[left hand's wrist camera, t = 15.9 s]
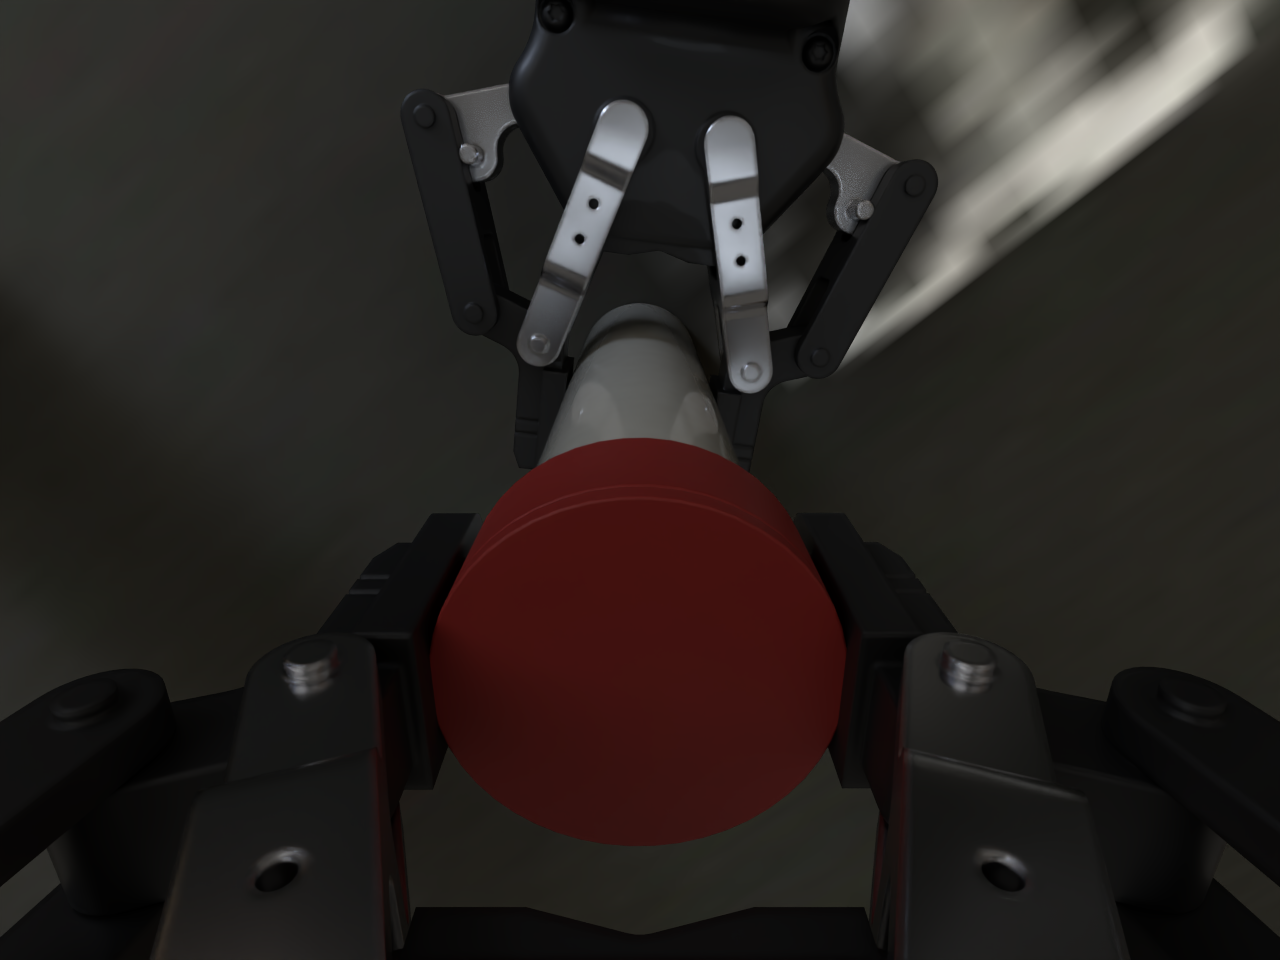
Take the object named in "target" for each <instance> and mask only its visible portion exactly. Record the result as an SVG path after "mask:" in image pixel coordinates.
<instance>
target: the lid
mask: <svg viewBox="0 0 1280 960" xmlns="http://www.w3.org/2000/svg"><path fill="white" fill-rule="evenodd" d="M846 650H847V648H846V641H845V636H844V632H843V627H842V625H841V622H840V620H839V617H838V615H837V612H836V609H835V607H834V604H833V602H832V600H831V598H830V596H829V594H828V592H827V590H826V588H825V586H824V584H823V582H822V580H821V578H820V576H819V573H818V571H817V569H816V567H815V565H814V563H813V561H812V559H811V557H810V555H809V553H808V551H807V549H806V547H805V544H804V542H803V540H802V538H801V536H800V534H799V532H798V530H797V528H796V526H795V525H794V523H793V521H792V520H791V518H790V516H789V514H788V513H787V511H786V510H785V508H784V507H783V506H782V505H781V503H780V502H779V501H778V500H777V498H776V497H775V496H774V494H773V493H771V492H770V491H769V490H768V489H767V488H766V487H765V486H764V485H763V484H762V483H761V482H760V481H759V480H758V479H757V478H755V477H754V476H753V475H751V474H750V473H748V472H747V471H746V470H744V469H743V468H741V467H740V466H739V465H737V464H735V463H733V462H731V461H729V460H727V459H726V458H724V457H722V456H720V455H718V454H716V453H713V452H710V451H708V450H705V449H702V448H700V447H697V446H694V445H690V444H685V443H681V442H677V441H673V440H665V439H655V438H620V439H613V440H606V441H599V442H595V443H592V444H588V445H584V446H581V447H577V448H574V449H572V450H569V451H567V452H565V453H562V454H560V455H557V456H555V457H553V458H551V459H549V460H548V461H546V462H544V463H543V464H541V465H539V466H537V467H536V468H534V469H532V470H531V471H530V472H529V473H527V474H526V475H525V476H524V477H522V478H521V479H520V480H518V481H517V482H516V483H515V484H514V485H513V486H512V487H511V488H510V489H509V490H508V491H507V492H506V493H505V494H504V495H503V496H502V497H501V498H500V499H499V501H498V502H497V503H496V505H495V506H494V508H493V509H492V510H491V512H490V513H489V514H488V516H487V518H486V520H485V521H484V523H483V525H482V527H481V529H480V531H479V533H478V535H477V537H476V539H475V541H474V543H473V545H472V547H471V549H470V551H469V553H468V555H467V557H466V559H465V561H464V564H463V566H462V568H461V570H460V572H459V574H458V576H457V578H456V580H455V582H454V584H453V586H452V588H451V590H450V592H449V594H448V597H447V598H446V600H445V602H444V605H443V607H442V609H441V611H440V613H439V616H438V619H437V622H436V625H435V628H434V631H433V634H432V640H431V645H430V654H429V657H430V667H431V675H432V683H433V691H434V699H435V707H436V714H437V720H438V725H439V728H440V730H441V732H442V734H443V736H444V738H445V740H446V742H447V744H448V746H449V748H450V749H451V751H452V752H453V754H454V755H455V757H456V758H457V760H458V761H459V763H460V764H461V766H462V767H463V768H464V769H465V770H466V771H467V773H468V774H469V775H470V776H471V777H472V778H473V779H474V781H475V782H476V783H477V784H478V785H479V786H481V787H482V788H483V789H484V790H485V791H486V792H487V793H488V794H490V795H491V796H492V797H493V798H494V799H496V800H497V801H498V802H500V803H501V804H503V805H504V806H506V807H507V808H509V809H510V810H511V811H513V812H514V813H516V814H518V815H520V816H522V817H524V818H526V819H527V820H529V821H531V822H533V823H535V824H537V825H540V826H542V827H545V828H547V829H550V830H552V831H554V832H557V833H560V834H564V835H567V836H571V837H574V838H577V839H581V840H586V841H592V842H597V843H603V844H611V845H623V846H656V845H665V844H674V843H681V842H686V841H690V840H695V839H700V838H704V837H707V836H710V835H713V834H716V833H719V832H722V831H725V830H728V829H730V828H732V827H735V826H737V825H739V824H741V823H744V822H746V821H748V820H750V819H752V818H753V817H755V816H757V815H759V814H760V813H762V812H764V811H765V810H767V809H769V808H770V807H772V806H773V805H774V804H776V803H777V802H778V801H780V800H781V799H782V798H784V797H785V796H786V795H788V794H789V793H790V792H791V791H792V790H793V789H794V788H795V787H796V786H797V785H798V784H799V783H800V782H801V781H803V780H804V779H805V777H806V776H807V775H808V774H809V773H810V771H811V770H812V769H813V768H814V766H815V765H816V764H817V763H818V762H819V760H820V759H821V757H822V755H823V754H824V752H825V750H826V749H827V747H828V746H829V744H830V742H831V741H832V738H833V736H834V734H835V731H836V729H837V724H838V717H839V709H840V701H841V693H842V685H843V677H844V669H845V661H846Z"/></svg>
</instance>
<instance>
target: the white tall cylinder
mask: <svg viewBox="0 0 1280 960" xmlns="http://www.w3.org/2000/svg"><path fill="white" fill-rule="evenodd" d="M620 438H655V439H665V440H673V441H677V442H681V443H685V444H690V445H694V446H697V447H700V448H702V449H705V450H708V451H710V452H713V453H716V454H718V455H720V456H722V457H724V458H726V459H727V460H729V461H731V462H733V463H735V464H737V465H739V466H740V463H739V460H738V458H737V455H736V453H735V450H734V447H733V445H732V442H731V440H730V437H729V434H728V432H727V429H726V427H725V424H724V421H723V419H722V416H721V414H720V411H719V408H718V406H717V403H716V401H715V398H714V395H713V393H712V390H711V388H710V385H709V382H708V380H707V377H706V375H705V372H704V369H703V367H702V364H701V362H700V359H699V356H698V354H697V351H696V349H695V346H694V343H693V341H692V338H691V336H690V334H689V332H688V330H687V329H686V327H685V326H684V325H683V323H682V322H681V321H680V320H679V319H678V318H677V317H676V316H674V315H673V314H672V313H670V312H669V311H667V310H665V309H663V308H661V307H658V306H655V305H651V304H644V303H633V304H627V305H623V306H620V307H618V308H615V309H613V310H611V311H610V312H608V313H607V314H605V315H604V316H603V317H602V318H600V319H599V320H598V322H597V323H596V324H595V325H594V326H593V328H592V329H591V331H590V333H589V335H588V337H587V339H586V342H585V344H584V347H583V349H582V352H581V354H580V357H579V360H578V362H577V365H576V367H575V370H574V372H573V375H572V377H571V380H570V383H569V385H568V388H567V390H566V393H565V395H564V398H563V401H562V403H561V406H560V408H559V411H558V413H557V416H556V419H555V421H554V424H553V426H552V429H551V431H550V434H549V436H548V439H547V442H546V444H545V447H544V449H543V452H542V454H541V457H540V460H539V462H538V465H537V466H539V465H541V464H543V463H544V462H546V461H548V460H549V459H551V458H553V457H555V456H557V455H560V454H562V453H565V452H567V451H569V450H572V449H574V448H577V447H581V446H584V445H588V444H592V443H595V442H599V441H606V440H613V439H620ZM740 467H741V466H740Z"/></svg>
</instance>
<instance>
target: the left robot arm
mask: <svg viewBox="0 0 1280 960" xmlns="http://www.w3.org/2000/svg"><path fill="white" fill-rule="evenodd" d="M482 525H483V524H482V519H481V517H480V515H479V514H478V513H433V514H431V515H430V516H429V518H428V519H427V521H426V522H425V524H424V525H423V527H422V528H421V530H420V531H419V533H418V534H417V536H416V537H415V539H414V540H413V542H412V543H397V544H395V545H394V546H392V547H390V548H389V549H387V550H386V551H384V552H382V553H381V554H379V555H377V556H376V557H374V558H373V559H372V561H371V562H370V563H369V565H368V566H367V567H366V569H365V570H364V571H363V573H362V574H361V575H360V579H357V581H356V582H355V583H354V585H353V586H352V587H351V589H350V590H349V594H346V595H345V597H344V598H343V599H342V601H341V602H340V603H339V605H338V606H337V607H336V609H335V610H334V611H333V613H332V614H331V615H330V617H329V618H328V619H327V621H326V622H325V623H324V625H323V626H322V627H321V629H320V630H319V631H318V633H317V634H314V635H310V636H305V637H302V638H299V639H295V640H293V641H290V642H288V643H285V644H283V645H281V646H279V647H277V648H275V649H273V650H272V651H270V652H268V653H267V654H265V655H264V656H263V657H262V658H260V659H259V660H258V661H257V662H256V663H255V664H254V665H253V666H252V668H251V669H250V671H249V672H248V674H247V677H246V680H245V685H244V687H242V688H239V689H235V690H231V691H226V692H222V693H217V694H212V695H207V696H201V697H196V698H191V699H186V700H181V701H176V702H171V703H170V700H169V697H168V693H167V690H166V686H165V683H164V681H163V679H162V678H161V677H160V676H159V675H158V674H156V673H154V672H151V671H147V670H142V669H120V670H112V671H106V672H101V673H97V674H93V675H90V676H86V677H83V678H80V679H77V680H74V681H72V682H69V683H67V684H64V685H62V686H60V687H58V688H56V689H53V690H51V691H49V692H47V693H46V694H44V695H42V696H41V697H39V698H37V699H36V700H34V701H32V702H31V703H29V704H28V705H26V706H25V707H23V708H21V709H20V710H18V711H17V712H15V713H14V714H12V715H10V716H9V717H7V718H6V719H4V720H2V721H1V722H0V887H1V886H2V885H3V884H4V883H5V882H7V881H8V880H9V879H10V878H11V877H13V876H14V875H15V874H16V873H17V872H19V871H20V870H21V869H22V868H23V867H25V866H26V865H27V864H28V863H29V862H31V861H32V860H33V859H34V858H35V857H36V856H38V855H39V854H40V853H41V852H42V851H44V850H45V849H46V848H47V850H48V853H49V855H50V858H51V860H52V863H53V865H54V868H55V870H56V873H57V875H58V878H59V880H60V884H59V885H58V886H57V887H56V888H55V889H54V890H52V891H51V892H50V893H49V894H48V895H47V896H46V897H45V898H44V899H42V900H41V901H40V902H39V903H38V904H37V905H36V906H35V907H34V908H32V909H31V910H30V911H29V912H28V913H27V914H26V915H25V916H24V917H22V918H21V919H20V920H19V921H18V922H17V923H16V924H15V925H14V926H12V927H11V928H10V929H9V930H8V931H7V932H6V933H5V934H4V935H2V936H1V937H0V960H1280V937H1279V936H1278V935H1276V934H1275V933H1274V932H1273V931H1272V930H1271V929H1270V928H1269V927H1268V926H1266V925H1265V924H1264V923H1263V922H1262V921H1261V920H1260V919H1259V918H1258V917H1256V916H1255V915H1254V914H1253V913H1252V912H1251V911H1250V910H1249V909H1248V908H1246V907H1245V906H1244V905H1243V904H1242V903H1241V902H1240V901H1239V900H1237V899H1236V898H1235V897H1234V896H1233V895H1232V894H1231V893H1230V892H1229V891H1227V890H1226V889H1225V888H1224V887H1223V886H1222V885H1221V884H1220V883H1219V882H1217V881H1216V880H1215V879H1214V878H1213V877H1214V874H1215V871H1216V869H1217V866H1218V864H1219V861H1220V859H1221V856H1222V854H1223V851H1224V849H1225V846H1226V844H1227V843H1228V844H1229V845H1230V846H1232V847H1233V848H1234V849H1235V850H1236V851H1238V852H1239V853H1240V854H1241V855H1242V856H1243V857H1245V858H1246V859H1247V860H1248V861H1249V862H1251V863H1252V864H1253V865H1254V866H1255V867H1257V868H1258V869H1259V870H1260V871H1261V872H1263V873H1264V874H1265V875H1266V876H1267V877H1269V878H1270V879H1271V880H1272V881H1273V882H1275V883H1276V884H1277V885H1278V886H1279V887H1280V722H1279V721H1277V720H1276V719H1274V718H1273V717H1271V716H1270V715H1268V714H1266V713H1265V712H1263V711H1262V710H1260V709H1259V708H1257V707H1255V706H1254V705H1252V704H1251V703H1249V702H1248V701H1246V700H1244V699H1243V698H1241V697H1240V696H1238V695H1236V694H1235V693H1233V692H1231V691H1229V690H1228V689H1225V688H1223V687H1221V686H1219V685H1217V684H1215V683H1213V682H1210V681H1208V680H1205V679H1203V678H1200V677H1197V676H1194V675H1191V674H1187V673H1184V672H1180V671H1176V670H1171V669H1165V668H1157V667H1135V668H1130V669H1126V670H1123V671H1121V672H1119V673H1118V674H1117V675H1116V676H1115V677H1114V679H1113V681H1112V685H1111V688H1110V692H1109V695H1108V699H1107V702H1104V701H1099V700H1094V699H1089V698H1084V697H1079V696H1074V695H1068V694H1063V693H1058V692H1053V691H1048V690H1044V689H1040V688H1036V685H1035V680H1034V677H1033V674H1032V672H1031V671H1030V669H1029V668H1028V666H1027V665H1026V664H1025V663H1024V662H1023V661H1022V660H1021V659H1020V658H1018V657H1017V656H1016V655H1015V654H1013V653H1012V652H1010V651H1008V650H1007V649H1005V648H1003V647H1001V646H999V645H997V644H995V643H992V642H990V641H987V640H985V639H981V638H978V637H975V636H970V635H966V634H959V633H958V632H957V631H956V630H955V628H954V627H953V625H952V624H951V623H950V621H949V620H948V619H947V617H946V616H945V615H944V613H943V612H942V611H941V609H940V608H939V607H938V605H937V604H936V602H935V601H934V600H933V598H932V597H931V596H930V594H929V593H926V589H925V588H924V586H923V585H922V583H921V582H920V581H919V579H918V578H915V574H914V573H913V571H912V570H911V569H910V567H909V566H908V565H907V563H906V562H905V560H904V559H903V558H902V557H901V556H899V555H898V554H896V553H894V552H893V551H891V550H890V549H888V548H886V547H885V546H883V545H882V544H880V543H878V542H863V540H862V539H861V537H860V536H859V534H858V533H857V531H856V530H855V528H854V527H853V525H852V524H851V522H850V521H849V519H848V518H847V516H846V515H845V514H844V513H797V514H796V516H795V519H794V525H795V526H796V528H797V530H798V532H799V534H800V536H801V538H802V540H803V542H804V544H805V547H806V549H807V551H808V553H809V555H810V557H811V559H812V561H813V563H814V565H815V567H816V569H817V571H818V573H819V576H820V578H821V580H822V582H823V584H824V586H825V588H826V590H827V592H828V594H829V596H830V598H831V600H832V602H833V604H834V607H835V609H836V612H837V615H838V617H839V620H840V622H841V625H842V627H843V632H844V636H845V641H846V648H847V650H846V661H845V669H844V677H843V685H842V693H841V701H840V709H839V717H838V724H837V729H836V731H835V734H834V736H833V738H832V741H831V742H830V744H829V746H828V749H829V752H830V754H831V757H832V760H833V763H834V766H835V769H836V772H837V775H838V778H839V781H840V783H841V786H842V788H871V790H872V793H873V795H874V798H875V800H876V803H877V805H878V808H879V817H878V823H877V830H876V842H875V853H874V865H873V877H872V888H871V900H870V912H869V921H868V918H867V915H866V912H865V909H864V907H753V908H749V909H745V910H741V911H738V912H734V913H730V914H726V915H722V916H718V917H714V918H710V919H706V920H702V921H699V922H695V923H691V924H687V925H683V926H679V927H675V928H671V929H667V930H664V931H660V932H656V933H652V934H646V935H634V934H628V933H624V932H620V931H616V930H613V929H609V928H605V927H601V926H597V925H593V924H589V923H585V922H581V921H578V920H574V919H570V918H566V917H562V916H558V915H554V914H550V913H546V912H542V911H539V910H535V909H531V908H527V907H416V909H415V912H414V915H413V918H412V921H411V912H410V900H409V888H408V877H407V865H406V853H405V842H404V830H403V823H402V817H401V810H400V804H399V800H400V798H401V795H402V793H403V790H433V787H434V785H435V782H436V779H437V776H438V773H439V770H440V768H441V765H442V762H443V759H444V756H445V753H446V751H447V748H448V744H447V742H446V740H445V738H444V736H443V734H442V732H441V730H440V728H439V725H438V720H437V714H436V707H435V699H434V691H433V683H432V675H431V667H430V657H429V654H430V645H431V640H432V634H433V631H434V628H435V625H436V622H437V619H438V616H439V613H440V611H441V609H442V607H443V605H444V602H445V600H446V598H447V597H448V594H449V592H450V590H451V588H452V586H453V584H454V582H455V580H456V578H457V576H458V574H459V572H460V570H461V568H462V566H463V564H464V561H465V559H466V557H467V555H468V553H469V551H470V549H471V547H472V545H473V543H474V541H475V539H476V537H477V535H478V533H479V531H480V529H481V527H482Z"/></svg>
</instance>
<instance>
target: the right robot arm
mask: <svg viewBox="0 0 1280 960" xmlns="http://www.w3.org/2000/svg"><path fill="white" fill-rule="evenodd" d="M849 2H850V0H536V7H535V17H534V23H533V28H532V31H531V34H530V37H529V40H528V43H527V45H526V47H525V49H524V51H523V53H522V55H521V56H520V58H519V59H518V61H517V62H516V64H515V66H514V68H513V70H512V73H511V76H510V81H509V83H508V84H503V85H498V86H493V87H488V88H482V89H477V90H472V91H467V92H462V93H456V94H451V95H442V94H439V93H436V92H433V91H431V90H428V89H418V90H415V91H412V92H411V93H409V94H408V95H407V96H406V98H405V99H404V101H403V103H402V106H401V121H402V125H403V129H404V133H405V137H406V140H407V144H408V148H409V152H410V156H411V160H412V164H413V167H414V171H415V175H416V179H417V183H418V187H419V191H420V194H421V198H422V202H423V206H424V210H425V214H426V217H427V221H428V225H429V229H430V233H431V237H432V241H433V244H434V248H435V252H436V256H437V260H438V264H439V268H440V271H441V275H442V279H443V283H444V287H445V291H446V294H447V298H448V302H449V306H450V310H451V314H452V317H453V320H454V322H455V324H456V325H457V327H458V328H459V329H460V330H462V331H463V332H465V333H467V334H469V335H475V336H476V335H483V336H485V337H487V338H489V339H491V340H493V341H495V342H497V343H499V344H501V345H503V346H505V347H506V348H507V349H509V350H510V351H511V352H512V353H513V355H514V356H515V358H516V360H517V363H518V366H519V382H518V396H517V410H516V424H515V438H514V454H515V457H516V460H517V463H518V466H519V468H526V469H534V468H536V467H537V465H538V462H539V460H540V457H541V454H542V452H543V449H544V447H545V444H546V442H547V439H548V436H549V434H550V431H551V429H552V426H553V424H554V421H555V419H556V416H557V413H558V411H559V408H560V406H561V403H562V401H563V398H564V395H565V393H566V390H567V388H568V385H569V383H570V380H571V377H572V375H573V364H574V357H567V355H568V344H569V333H570V331H571V329H572V326H573V324H574V321H575V319H576V316H577V314H578V312H579V309H580V307H581V304H582V302H583V299H584V297H585V295H586V292H587V290H588V287H589V285H590V283H591V281H592V278H593V276H594V274H595V271H596V269H597V266H598V264H599V261H600V259H601V257H602V254H603V252H604V251H606V252H613V253H620V254H628V255H630V254H637V253H644V252H652V251H662V252H665V253H667V254H669V255H672V256H674V257H676V258H679V259H681V260H683V261H685V262H688V263H694V264H701V265H707V268H708V276H709V284H710V291H711V296H712V300H713V306H714V314H715V322H716V330H717V338H718V346H719V354H720V360H721V364H720V370H719V376H717V375H711V377H710V383H709V385H710V388H711V390H712V393H713V395H714V398H715V401H716V403H717V406H718V408H719V411H720V414H721V416H722V419H723V421H724V424H725V427H726V429H727V432H728V434H729V437H730V440H731V442H732V445H733V447H734V450H735V453H736V455H737V458H738V460H739V463H740V466H741V468H743V469H744V470H746V471H747V472H748V473H749V471H750V466H751V460H752V456H753V451H754V446H755V441H756V436H757V431H758V425H759V420H760V415H761V410H762V405H763V401H764V399H765V397H766V395H767V393H768V392H769V391H770V390H771V389H772V388H773V387H774V386H776V385H777V384H779V383H781V382H785V381H789V380H794V379H798V378H803V377H807V376H808V377H811V378H815V379H821V378H825V377H828V376H829V375H831V374H832V373H834V372H835V371H836V370H837V368H838V367H839V365H840V363H841V361H842V360H843V358H844V356H845V354H846V352H847V351H848V349H849V347H850V345H851V344H852V342H853V340H854V338H855V336H856V335H857V333H858V331H859V329H860V328H861V326H862V324H863V322H864V320H865V319H866V317H867V315H868V313H869V311H870V310H871V308H872V306H873V304H874V303H875V301H876V299H877V297H878V295H879V294H880V292H881V290H882V288H883V287H884V285H885V283H886V281H887V279H888V278H889V276H890V274H891V272H892V270H893V269H894V267H895V265H896V263H897V262H898V260H899V258H900V256H901V254H902V253H903V251H904V249H905V247H906V245H907V244H908V242H909V240H910V238H911V237H912V235H913V233H914V231H915V229H916V228H917V226H918V224H919V222H920V221H921V219H922V217H923V215H924V213H925V212H926V210H927V208H928V206H929V204H930V203H931V201H932V199H933V197H934V195H935V193H936V191H937V187H938V177H937V173H936V171H935V169H934V168H933V166H932V165H931V164H929V163H928V162H926V161H924V160H918V159H917V160H909V161H902V162H900V161H896V160H895V159H893V158H891V157H889V156H887V155H885V154H883V153H881V152H879V151H878V150H876V149H874V148H872V147H870V146H868V145H866V144H864V143H862V142H860V141H859V140H857V139H855V138H853V137H851V136H849V135H847V134H845V133H844V116H843V111H842V108H841V105H840V101H839V97H838V91H837V81H836V71H837V62H838V56H839V52H840V47H841V42H842V37H843V32H844V27H845V22H846V17H847V12H848V7H849ZM517 128H520V130H521V132H522V133H523V135H524V137H525V139H526V141H527V143H528V144H529V146H530V148H531V150H532V152H533V154H534V156H535V157H536V159H537V161H538V163H539V165H540V167H541V168H542V170H543V172H544V174H545V176H546V178H547V179H548V181H549V183H550V185H551V187H552V189H553V190H554V192H555V194H556V196H557V198H558V200H559V202H560V203H561V205H562V207H563V209H564V213H563V215H562V218H561V221H560V223H559V226H558V228H557V231H556V234H555V236H554V239H553V241H552V244H551V247H550V249H549V252H548V254H547V257H546V260H545V262H544V265H543V268H542V272H541V276H540V280H539V282H538V285H537V288H536V290H535V293H534V295H533V298H532V300H531V301H529V300H527V299H525V298H523V297H521V296H519V295H518V294H516V293H514V292H512V291H510V290H509V286H508V282H507V278H506V273H505V269H504V265H503V260H502V256H501V251H500V247H499V243H498V238H497V234H496V229H495V225H494V221H493V216H492V212H491V208H490V203H489V199H488V194H487V190H486V186H485V182H487V181H491V180H493V179H494V178H495V177H497V176H498V175H499V173H500V172H501V169H502V167H503V161H504V158H503V146H504V142H505V140H506V138H507V136H508V135H509V134H510V133H511V132H512V131H513V130H515V129H517ZM822 172H823V173H824V174H825V175H826V177H827V178H828V180H829V183H830V188H831V192H830V198H829V201H828V204H827V208H826V216H827V220H828V222H829V224H830V225H831V227H832V228H834V229H835V230H837V232H836V234H835V236H834V238H833V240H832V242H831V244H830V246H829V248H828V250H827V252H826V253H825V255H824V257H823V259H822V261H821V263H820V265H819V267H818V269H817V271H816V273H815V274H814V276H813V278H812V280H811V282H810V284H809V286H808V288H807V290H806V292H805V294H804V295H803V297H802V299H801V301H800V303H799V305H798V307H797V309H796V311H795V313H794V315H793V316H792V318H791V320H790V322H789V324H788V326H787V328H783V329H779V330H774V331H770V332H769V326H768V316H767V304H768V286H767V275H766V265H765V255H764V244H763V234H764V233H765V232H766V231H767V230H768V229H769V227H770V226H771V225H772V224H773V223H774V222H775V221H776V220H777V219H778V218H779V217H780V216H781V215H782V214H783V213H784V212H785V211H786V210H787V209H788V208H789V207H790V205H791V204H792V203H793V202H794V201H795V200H796V199H797V198H798V197H799V196H800V195H801V194H802V193H803V192H804V191H805V190H806V189H807V188H808V187H809V186H810V184H811V183H812V182H813V181H814V180H815V179H816V178H817V177H818V176H819V175H820V174H821V173H822Z"/></svg>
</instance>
